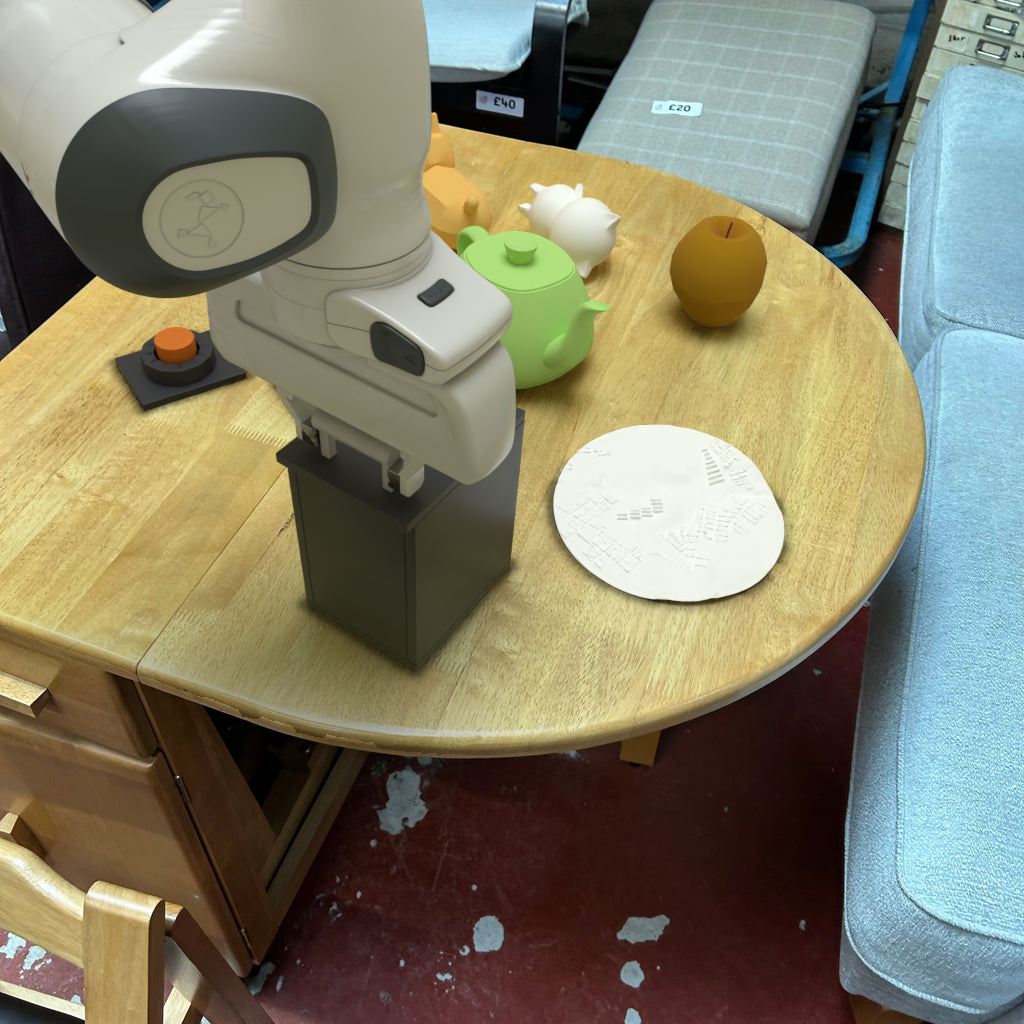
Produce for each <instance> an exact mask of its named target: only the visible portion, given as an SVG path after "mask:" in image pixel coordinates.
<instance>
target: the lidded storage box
mask: <svg viewBox="0 0 1024 1024" xmlns="http://www.w3.org/2000/svg"><path fill="white" fill-rule="evenodd" d="M525 420H526V419H525ZM525 420H524V421H523V422H522V423H520V424H519V425H518V426H517V427H516V428H515V432H514V440H513V445H512V448H511V450H510V452H509V454H508V455H507V456H506V458H505V459H504V460H503V461H502V462H501V463H500V464H499V466H498V467H497V468H496V469H495V470H493V471H492V472H491V473H490V474H489V475H488V476H486V477H485V478H484V479H482V480H480V481H478V482H476V483H474V484H472V485H465V484H463V483H459V484H458V485H457V486H456V487H455V488H454V489H453V490H452V491H451V492H450V493H449V494H448V495H446V496H445V497H444V498H443V499H442V500H441V501H440V502H439V503H438V504H437V505H436V506H435V507H434V508H433V509H432V510H431V511H430V512H429V513H428V514H427V515H426V516H425V517H424V518H423V519H422V520H421V521H420V522H419V523H418V524H417V525H416V526H415V527H414V528H413V529H412V530H410V531H409V532H408V533H407V534H405V533H403V532H402V531H400V530H398V529H396V528H395V527H393V526H391V525H389V524H387V523H386V522H384V521H382V520H380V519H378V518H377V517H375V516H373V515H371V514H369V513H368V512H366V511H364V510H362V509H360V508H359V507H357V506H355V505H353V504H351V503H350V502H348V501H346V500H344V499H343V498H341V497H339V496H337V495H335V494H334V493H332V492H330V491H328V490H326V489H325V488H323V487H321V486H319V485H317V484H316V483H314V482H312V481H310V480H308V479H307V478H305V477H303V476H301V475H300V474H298V473H296V472H294V471H292V470H291V469H289V468H287V467H286V468H287V475H288V482H289V488H290V489H289V490H290V495H291V503H292V510H293V516H294V517H293V518H294V523H295V530H296V536H297V543H298V544H297V545H298V550H299V557H300V563H301V571H302V579H303V585H304V591H305V592H304V593H305V598H306V599H305V600H306V604H307V606H309V607H311V608H312V609H314V610H316V611H317V612H319V613H320V614H321V615H323V616H325V617H327V618H328V619H330V620H332V621H334V622H335V623H336V624H338V625H340V626H342V627H343V628H345V629H347V630H348V631H349V632H351V633H353V634H355V635H356V636H358V637H359V638H361V639H363V640H364V641H366V642H368V643H369V644H370V645H372V646H374V647H376V648H377V649H378V650H380V651H382V652H384V653H385V654H387V655H388V656H390V657H392V658H393V659H395V660H397V661H398V662H400V663H402V664H403V665H405V666H407V667H408V668H410V669H411V670H413V671H415V672H418V671H419V670H420V668H421V667H422V666H423V665H424V664H425V663H426V661H427V660H428V659H429V658H430V657H431V656H432V655H433V654H434V653H435V652H436V650H437V649H438V648H439V647H440V646H441V645H442V644H443V643H444V641H445V640H446V639H447V638H448V637H449V636H450V635H451V634H452V633H453V631H454V630H455V629H456V628H457V627H458V626H459V625H460V623H461V622H462V621H464V619H466V617H467V616H468V614H469V613H470V612H471V611H472V610H473V609H474V608H475V606H476V605H477V604H479V602H480V601H481V600H482V599H483V598H484V596H485V595H487V593H488V592H490V590H491V589H492V588H493V586H494V585H495V584H496V583H497V582H498V581H499V580H500V578H502V576H503V575H504V574H505V573H506V572H507V571H508V570H509V568H510V567H511V563H512V562H511V560H512V551H513V543H514V534H515V533H514V531H515V524H516V523H515V521H516V514H517V513H516V512H517V502H518V492H519V483H520V473H521V462H522V453H523V442H524V441H523V440H524V433H525Z"/></svg>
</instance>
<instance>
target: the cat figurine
mask: <svg viewBox="0 0 1024 1024" xmlns="http://www.w3.org/2000/svg"><path fill="white" fill-rule="evenodd" d="M584 190H585V187H584V184H583V183H579V182H577V184H576V185H575V188H573V187H571V186H569V185H567V184H562V183H557V184H552V185H549V186H545V185H542V184H541V183H538V182H533V183H532V184H530V185H529V191H530V192H531V194H532V195H533V196H534V200H533V202H532V203H530V202H529V203H528V202H524V203H521V204H519V205H518V212H519V213H520V214H521V215H523V217H525V218H526V219H527V220H528V225H529V229H530V230H531V233H533V234H537V235H539V236H542V237H544V238H546V239H548V240H550V241H552V242H553V243H555V244H556V245H558V246H559V247H560V248H562V249H563V250H564V251H565V252H566V253H567V254H568V255H569V256H570V258H571V259H572V261H573V262H574V264H575V266H576V268H577V269H578V272H579V274H580V276H581V278H583V279H587V278H588V277H589V275H590V274H591V272H592V271H593V269H594V268H595V267H596V266H598V265H600V264H601V263H602V262H604V261H605V260H606V259H607V258H608V257H609V256H610V254H612V252H613V250H614V248H615V245H616V241H617V237H618V235H617V233H618V231H617V227H618V225H619V224H620V222H621V220H622V217H621V216H620V215H619V214H616V213H613V212H612V210H610V208H609V207H608V206H607V205H606V203H604V202H603V201H601V200H599V199H597V198H593V197H584Z"/></svg>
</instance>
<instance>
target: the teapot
mask: <svg viewBox="0 0 1024 1024" xmlns="http://www.w3.org/2000/svg"><path fill="white" fill-rule="evenodd" d="M456 254H457V255H458V256H459V257H460V258H461V259H462V260H463V261H464V262H466V263H467V264H468V265H469V266H470V267H471V268H473V269H474V270H475V271H476V272H477V273H479V274H480V275H481V276H482V277H484V278H485V279H486V280H487V281H489V282H490V283H491V284H493V285H494V286H495V287H496V288H498V289H499V290H500V291H501V292H502V293H504V294H505V295H506V296H507V298H508V299H509V300H510V302H511V305H512V309H513V314H512V322H511V325H510V327H509V328H508V330H507V331H506V332H505V333H504V334H503V335H502V337H501V338H500V339H499V341H500V342H501V343H502V344H503V345H504V347H505V348H506V350H507V351H508V353H509V356H510V358H511V361H512V364H513V368H514V374H515V390H526V389H530V388H536V387H538V386H541V385H545V384H547V383H551V382H553V381H554V380H556V379H559V378H560V377H562V376H564V375H566V374H567V373H569V372H570V371H571V370H573V369H575V367H577V366H578V365H579V364H581V362H582V361H584V359H586V358H587V356H588V355H589V353H590V351H591V349H592V347H593V343H594V335H595V323H594V321H595V319H596V317H597V315H599V314H601V313H604V312H608V311H610V310H611V306H610V305H609V304H607V303H605V302H602V301H598V300H591V299H590V296H589V293H588V291H587V288H586V285H585V284H584V281H583V279H582V278H583V277H582V276H580V274H579V272H578V269H577V268H576V266H575V264H574V262H573V261H572V259H571V258H570V256H569V255H568V254H567V253H566V252H565V251H564V250H563V249H562V248H560V247H559V246H558V245H556V244H555V243H553V242H552V241H550V240H548V239H546V238H544V237H542V236H539V235H537V234H533V232H529V231H525V230H507V231H502V232H497V233H495V234H494V233H493V234H492V235H490V233H489V232H487V231H486V230H485V229H483V228H482V227H479V226H470V227H467V228H464V229H463V230H461V231H460V232H459V234H458V236H457V249H456Z"/></svg>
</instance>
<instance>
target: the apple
mask: <svg viewBox="0 0 1024 1024" xmlns="http://www.w3.org/2000/svg"><path fill="white" fill-rule="evenodd" d="M766 251H767V250H766V248H765V244H764V241H763V239H762V237H761V235H760V233H759V232H758V230H756V229H755V228H754V227H753V225H751V223H748V222H747V221H745V220H744V219H742V218H738V217H734V216H728V215H712V216H709V217H705V218H703V219H702V220H701V221H699V222H698V223H697V224H695V225H694V226H692V228H691V229H689V230H688V231H687V233H686V234H685V235H684V236H683V237H682V238H681V239H680V240H679V241H678V242H677V244H676V246H675V248H674V250H673V252H672V254H671V258H670V266H669V276H670V281H671V286H672V290H673V292H674V293H675V295H676V297H677V299H678V300H679V303H680V304H681V307H683V310H684V311H685V313H686V314H687V315H688V316H689V317H690V318H691V319H692V320H693V321H694V322H696V323H697V324H698V325H700V326H702V327H705V328H722V327H723V328H724V327H726V326H728V325H730V324H733V323H734V322H735V321H736V320H738V319H739V318H740V317H741V316H742V315H743V314H745V313H746V311H749V309H750V308H751V306H752V305H753V303H754V302H755V300H756V299H757V297H758V295H759V293H760V291H761V290H762V287H763V284H764V279H765V276H766V271H767V266H768V258H767V252H766Z"/></svg>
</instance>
